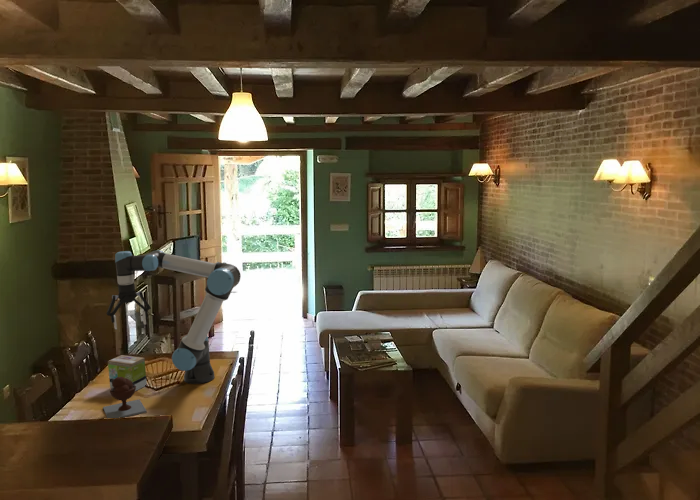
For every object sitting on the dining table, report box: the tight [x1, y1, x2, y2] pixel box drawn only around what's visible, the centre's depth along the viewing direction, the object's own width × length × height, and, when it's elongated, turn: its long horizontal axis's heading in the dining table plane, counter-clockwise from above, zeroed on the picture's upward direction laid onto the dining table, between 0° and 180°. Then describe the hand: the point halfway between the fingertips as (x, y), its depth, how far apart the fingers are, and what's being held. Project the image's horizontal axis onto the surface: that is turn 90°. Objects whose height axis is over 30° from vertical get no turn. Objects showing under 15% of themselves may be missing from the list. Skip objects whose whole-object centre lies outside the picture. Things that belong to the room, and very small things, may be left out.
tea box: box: [107, 354, 148, 392], centre depth 306 cm, size 15×10×15 cm, turn 68°
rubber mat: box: [102, 399, 147, 419], centre depth 278 cm, size 16×16×1 cm
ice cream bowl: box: [109, 377, 136, 411], centre depth 277 cm, size 11×11×15 cm
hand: (130, 326), depth 300 cm, fingers open, 13 cm apart
